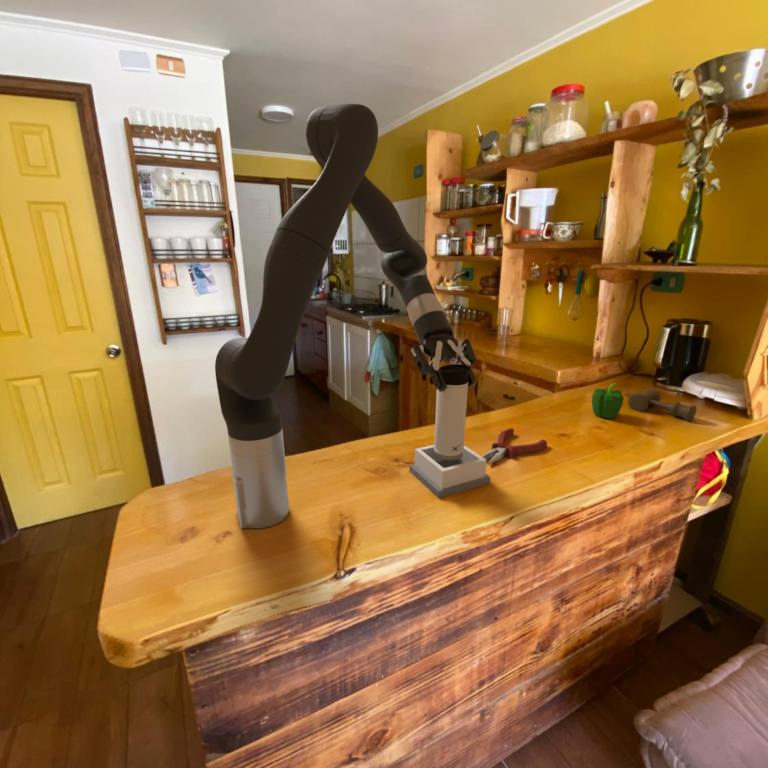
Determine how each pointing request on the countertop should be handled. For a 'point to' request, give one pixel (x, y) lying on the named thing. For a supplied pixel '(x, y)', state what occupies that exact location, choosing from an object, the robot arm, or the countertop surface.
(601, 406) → the bell pepper
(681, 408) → the kendama
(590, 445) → the countertop surface
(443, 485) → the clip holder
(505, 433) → the pliers
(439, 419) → the travel mug
